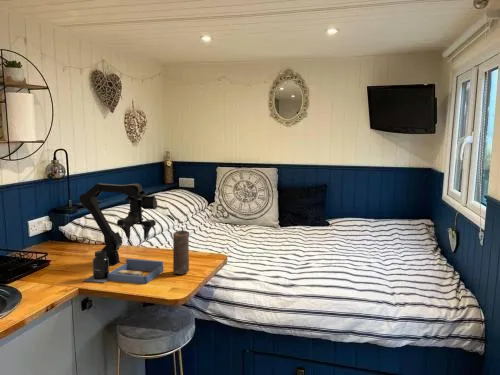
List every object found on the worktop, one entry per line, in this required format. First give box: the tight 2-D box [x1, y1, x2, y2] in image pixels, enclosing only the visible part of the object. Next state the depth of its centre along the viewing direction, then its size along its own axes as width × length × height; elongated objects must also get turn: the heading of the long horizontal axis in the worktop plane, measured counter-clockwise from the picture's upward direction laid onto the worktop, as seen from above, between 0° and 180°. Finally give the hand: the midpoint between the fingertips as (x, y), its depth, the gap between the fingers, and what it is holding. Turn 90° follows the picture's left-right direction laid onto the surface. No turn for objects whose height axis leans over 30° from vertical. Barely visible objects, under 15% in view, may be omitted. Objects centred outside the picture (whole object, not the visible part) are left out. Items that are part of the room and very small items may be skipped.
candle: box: [172, 230, 190, 275], centre depth 179 cm, size 8×7×20 cm
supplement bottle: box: [92, 249, 110, 279], centre depth 173 cm, size 7×7×12 cm
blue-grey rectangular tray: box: [108, 258, 164, 285], centre depth 177 cm, size 19×16×5 cm
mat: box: [83, 275, 110, 284], centre depth 174 cm, size 10×10×1 cm
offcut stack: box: [117, 269, 144, 276], centre depth 172 cm, size 13×3×4 cm, turn 75°
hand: (136, 239), depth 192 cm, fingers open, 9 cm apart
